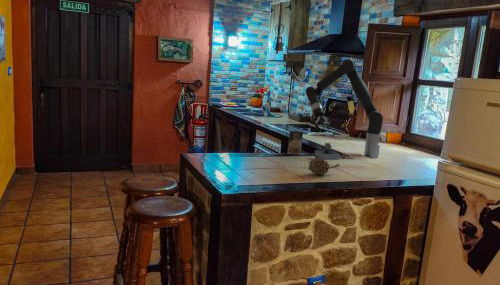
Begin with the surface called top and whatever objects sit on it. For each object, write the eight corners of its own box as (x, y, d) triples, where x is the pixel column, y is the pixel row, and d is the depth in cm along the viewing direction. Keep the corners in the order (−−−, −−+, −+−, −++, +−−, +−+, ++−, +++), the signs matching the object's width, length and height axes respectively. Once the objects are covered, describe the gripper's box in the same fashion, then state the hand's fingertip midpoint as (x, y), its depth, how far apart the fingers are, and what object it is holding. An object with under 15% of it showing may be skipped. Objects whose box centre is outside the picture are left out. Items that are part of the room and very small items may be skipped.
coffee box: (287, 154, 288) (289, 131, 285) (287, 152, 295) (289, 130, 292) (300, 155, 287) (302, 132, 285) (300, 154, 294) (302, 131, 291)
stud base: (346, 157, 292) (347, 151, 291) (354, 161, 282) (355, 154, 281) (332, 157, 289) (333, 151, 288) (340, 161, 278) (341, 154, 278)
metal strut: (328, 157, 284) (329, 142, 282) (331, 158, 280) (332, 144, 278) (322, 157, 283) (323, 142, 281) (325, 158, 278) (326, 144, 277)
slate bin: (329, 157, 289) (330, 150, 288) (339, 161, 277) (339, 154, 276) (314, 157, 285) (315, 150, 285) (323, 161, 273) (323, 154, 273)
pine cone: (314, 178, 229) (316, 160, 227) (303, 173, 237) (305, 156, 235) (343, 174, 241) (345, 158, 239) (331, 171, 249) (333, 154, 247)
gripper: (310, 106, 290) (316, 125, 281) (328, 107, 294) (335, 126, 285) (306, 113, 296) (312, 132, 287) (324, 114, 300) (330, 132, 291)
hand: (323, 129), depth 286 cm, fingers open, 8 cm apart
